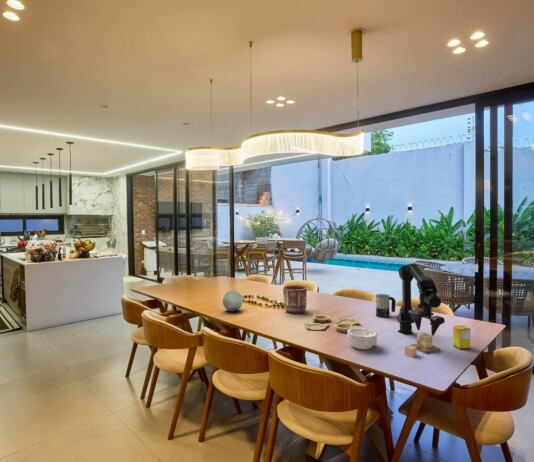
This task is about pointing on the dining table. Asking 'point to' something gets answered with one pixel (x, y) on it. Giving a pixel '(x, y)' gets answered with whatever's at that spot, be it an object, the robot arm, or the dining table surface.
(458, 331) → the supplement box
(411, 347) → the terracotta cube
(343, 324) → the tableware set
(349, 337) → the paper bowls
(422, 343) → the oak block
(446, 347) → the dining table surface
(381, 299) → the milk frother
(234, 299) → the decorative ball
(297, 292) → the pottery
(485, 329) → the dining table surface
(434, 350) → the walnut block
